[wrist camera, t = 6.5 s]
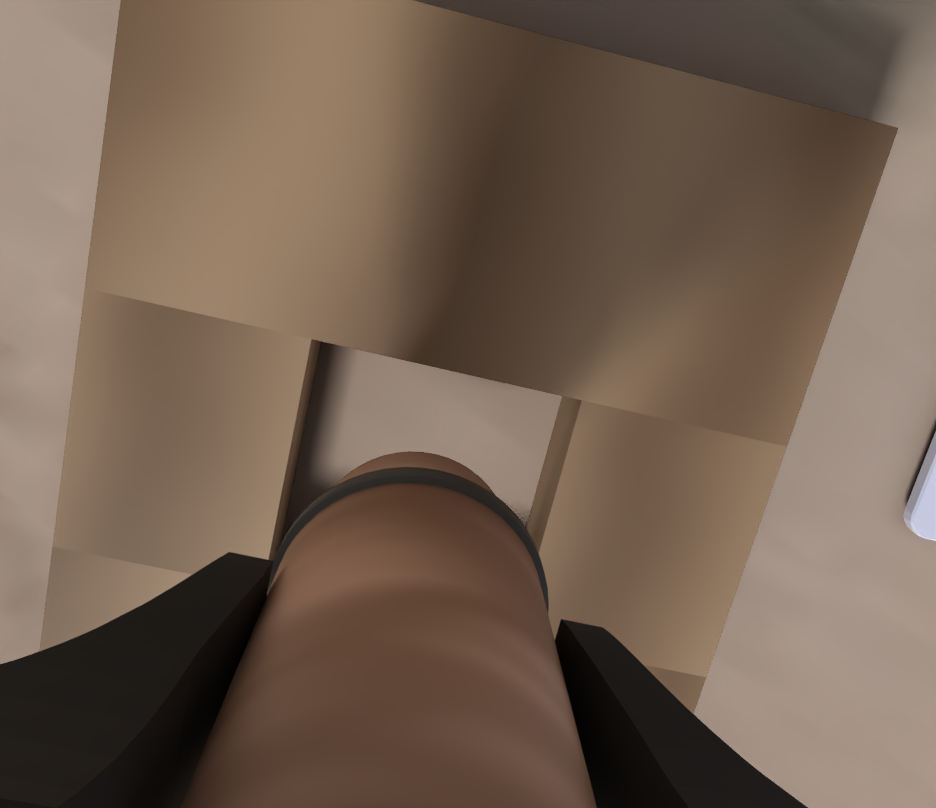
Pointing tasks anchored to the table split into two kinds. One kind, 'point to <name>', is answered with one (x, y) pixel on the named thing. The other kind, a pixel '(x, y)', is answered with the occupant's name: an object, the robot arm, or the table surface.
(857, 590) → the table surface
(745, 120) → the board
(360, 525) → the peg
